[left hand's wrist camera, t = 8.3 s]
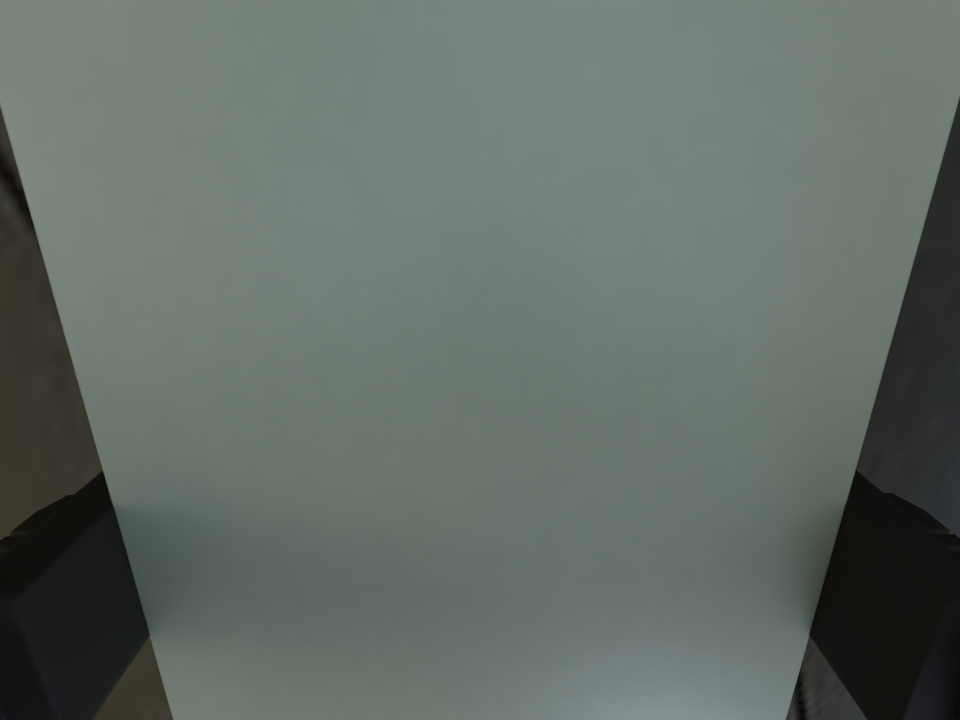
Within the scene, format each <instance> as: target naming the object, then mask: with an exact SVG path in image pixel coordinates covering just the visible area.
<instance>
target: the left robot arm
mask: <svg viewBox="0 0 960 720" xmlns="http://www.w3.org/2000/svg"><path fill="white" fill-rule="evenodd" d="M149 636H150V635H149V632H148V628H147V625H146V621H145V618H144V614H143V610H142V607H141V603H140V600H139V596H138V593H137V589H136V586H135V582H134V579H133V575H132V571H131V568H130V564H129V561H128V557H127V554H126V550H125V547H124V543H123V540H122V536H121V533H120V529H119V525H118V522H117V518H116V515H115V511H114V508H113V504H112V501H111V497H110V494H109V490H108V486H107V483H106V479H105V476H104V472H103V471H102V472H101V473H100V474H98V475H97V476H96V477H95V478H94V479H92V480H91V481H90V482H89V483H88V484H86V485H85V486H84V487H83V488H82V489H81V490H79V491H78V492H77V493H76V494H75V495H67V496H65V497H64V498H62V499H60V500H58V501H56V502H54V503H52V504H50V505H49V506H47V507H45V508H43V509H41V510H39V511H37V512H35V513H34V514H33V515H32V516H30V517H29V518H28V519H27V520H25V521H24V522H23V523H22V524H21V525H19V526H18V527H17V528H16V529H14V530H13V531H12V532H11V533H10V536H9V537H4V538H3V539H2V540H1V541H0V720H92V719H93V717H94V716H95V714H96V713H97V712H98V710H99V709H100V707H101V706H102V704H103V703H104V701H105V700H106V698H107V697H108V695H109V694H110V693H111V691H112V690H113V688H114V687H115V685H116V684H117V682H118V681H119V679H120V678H121V676H122V675H123V674H124V672H125V671H126V669H127V668H128V666H129V665H130V663H131V662H132V660H133V659H134V657H135V656H136V655H137V653H138V652H139V650H140V649H141V647H142V646H143V644H144V643H145V641H146V640H147V638H148V637H149ZM810 636H811V638H812V639H813V641H814V642H815V644H816V645H817V647H818V648H819V650H820V651H821V652H822V654H823V655H824V657H825V658H826V660H827V661H828V663H829V664H830V666H831V667H832V669H833V670H834V671H835V673H836V674H837V676H838V677H839V679H840V680H841V682H842V683H843V685H844V686H845V688H846V689H847V690H848V692H849V693H850V695H851V696H852V698H853V699H854V701H855V702H856V704H857V705H858V707H859V708H860V709H861V711H862V712H863V714H864V715H865V717H866V718H867V720H956V719H957V720H960V539H959V538H958V537H957V536H956V535H951V534H950V530H948V529H947V528H946V527H945V526H943V525H942V524H941V523H940V522H938V521H937V520H936V519H935V518H933V517H932V516H931V515H930V514H928V513H927V512H926V511H925V510H923V509H921V508H919V507H917V506H915V505H913V504H911V503H910V502H908V501H906V500H904V499H902V498H900V497H898V496H896V495H894V494H892V493H882V492H881V491H880V490H879V489H878V488H876V487H875V486H874V485H873V484H872V483H871V482H869V481H868V480H867V479H866V478H865V477H863V476H862V475H861V474H860V473H859V472H857V471H856V470H855V474H854V477H853V481H852V484H851V488H850V492H849V495H848V499H847V502H846V506H845V509H844V513H843V517H842V520H841V524H840V527H839V531H838V534H837V538H836V542H835V545H834V549H833V552H832V556H831V560H830V563H829V567H828V570H827V574H826V577H825V581H824V585H823V588H822V592H821V595H820V599H819V602H818V606H817V610H816V613H815V617H814V620H813V624H812V628H811V631H810Z"/></svg>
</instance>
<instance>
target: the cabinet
mask: <svg viewBox="0 0 960 720" xmlns="http://www.w3.org/2000/svg"><path fill="white" fill-rule="evenodd" d="M959 98H960V0H0V107H1V111H2V114H3V118H4V121H5V125H6V128H7V132H8V136H9V139H10V143H11V146H12V150H13V153H14V157H15V160H16V164H17V167H18V171H19V175H20V178H21V182H22V185H23V189H24V192H25V196H26V199H27V203H28V206H29V210H30V214H31V217H32V221H33V224H34V228H35V231H36V235H37V238H38V242H39V245H40V249H41V252H42V256H43V260H44V263H45V267H46V270H47V274H48V277H49V281H50V284H51V288H52V291H53V295H54V299H55V302H56V306H57V309H58V313H59V316H60V320H61V323H62V327H63V330H64V334H65V338H66V341H67V345H68V348H69V352H70V355H71V359H72V362H73V366H74V369H75V373H76V377H77V380H78V384H79V387H80V391H81V394H82V398H83V401H84V405H85V408H86V412H87V416H88V419H89V423H90V426H91V430H92V433H93V437H94V440H95V444H96V447H97V451H98V455H99V458H100V462H101V465H102V469H103V472H104V476H105V479H106V483H107V486H108V490H109V494H110V497H111V501H112V504H113V508H114V511H115V515H116V518H117V522H118V525H119V529H120V533H121V536H122V540H123V543H124V547H125V550H126V554H127V557H128V561H129V564H130V568H131V571H132V575H133V579H134V582H135V586H136V589H137V593H138V596H139V600H140V603H141V607H142V610H143V614H144V618H145V621H146V625H147V628H148V632H149V635H150V639H151V642H152V646H153V649H154V653H155V657H156V660H157V664H158V667H159V671H160V674H161V678H162V681H163V685H164V688H165V692H166V696H167V699H168V703H169V706H170V710H171V713H172V717H173V720H786V717H787V713H788V710H789V706H790V703H791V699H792V696H793V692H794V688H795V685H796V681H797V678H798V674H799V671H800V667H801V663H802V660H803V656H804V653H805V649H806V645H807V642H808V638H809V635H810V631H811V628H812V624H813V620H814V617H815V613H816V610H817V606H818V602H819V599H820V595H821V592H822V588H823V585H824V581H825V577H826V574H827V570H828V567H829V563H830V560H831V556H832V552H833V549H834V545H835V542H836V538H837V534H838V531H839V527H840V524H841V520H842V517H843V513H844V509H845V506H846V502H847V499H848V495H849V492H850V488H851V484H852V481H853V477H854V474H855V470H856V466H857V463H858V459H859V456H860V452H861V449H862V445H863V441H864V438H865V434H866V431H867V427H868V424H869V420H870V416H871V413H872V409H873V406H874V402H875V398H876V395H877V391H878V388H879V384H880V381H881V377H882V373H883V370H884V366H885V363H886V359H887V356H888V352H889V348H890V345H891V341H892V338H893V334H894V330H895V327H896V323H897V320H898V316H899V313H900V309H901V305H902V302H903V298H904V295H905V291H906V287H907V284H908V280H909V277H910V273H911V270H912V266H913V262H914V259H915V255H916V252H917V248H918V245H919V241H920V237H921V234H922V230H923V227H924V223H925V219H926V216H927V212H928V209H929V205H930V202H931V198H932V194H933V191H934V187H935V184H936V180H937V177H938V173H939V169H940V166H941V162H942V159H943V155H944V151H945V148H946V144H947V141H948V137H949V134H950V130H951V126H952V123H953V119H954V116H955V112H956V109H957V105H958V101H959Z"/></svg>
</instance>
